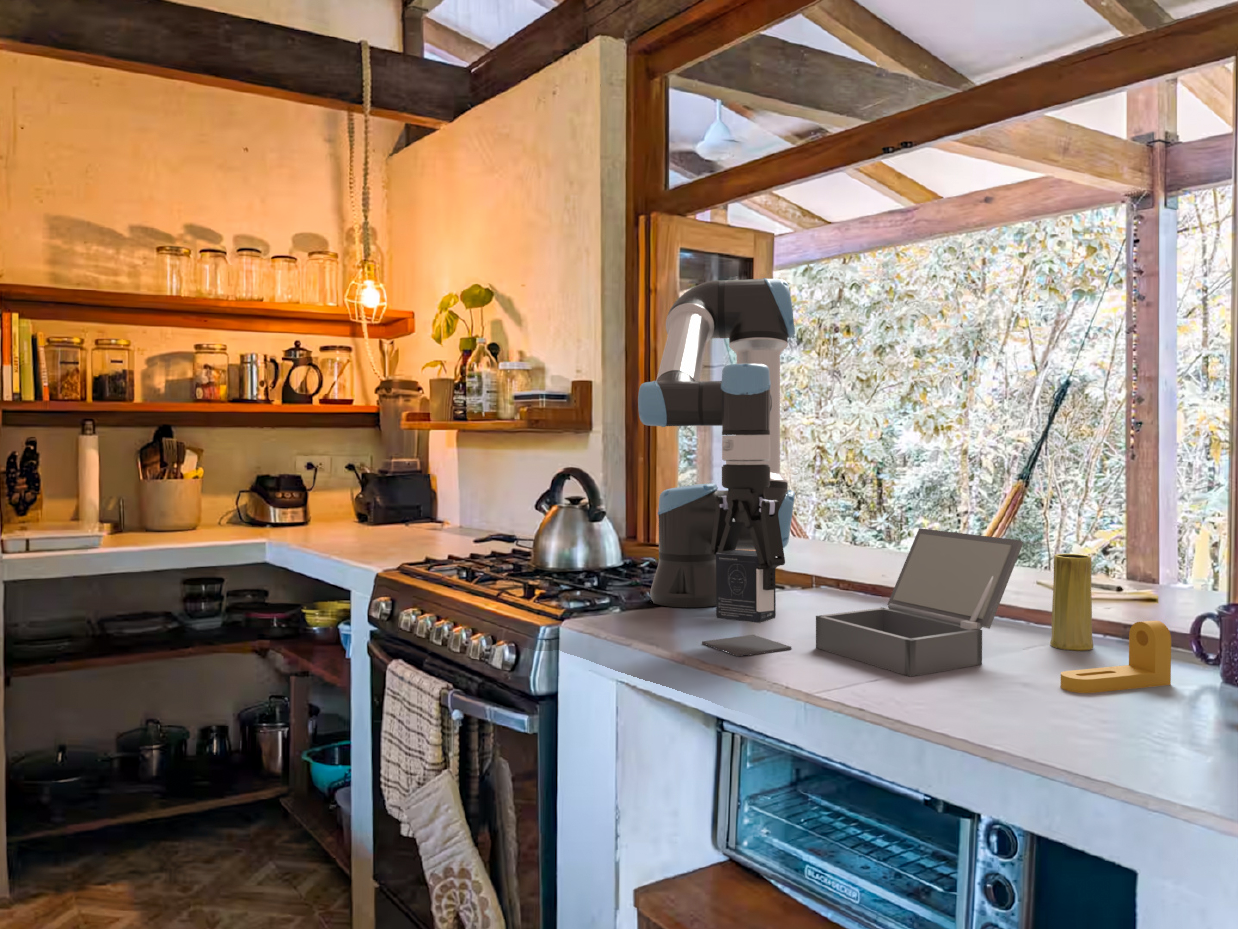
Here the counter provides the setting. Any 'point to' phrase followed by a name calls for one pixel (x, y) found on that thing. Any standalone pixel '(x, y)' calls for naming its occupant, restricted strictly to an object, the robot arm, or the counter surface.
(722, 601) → the box
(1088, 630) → the vase
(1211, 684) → the counter surface
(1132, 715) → the counter surface
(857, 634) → the case
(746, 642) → the mat
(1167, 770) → the counter surface
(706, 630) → the counter surface
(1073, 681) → the bracket
